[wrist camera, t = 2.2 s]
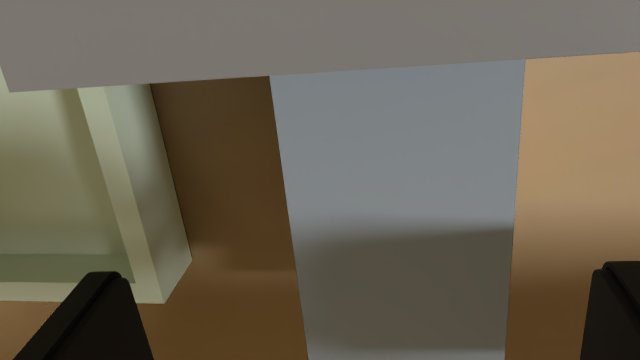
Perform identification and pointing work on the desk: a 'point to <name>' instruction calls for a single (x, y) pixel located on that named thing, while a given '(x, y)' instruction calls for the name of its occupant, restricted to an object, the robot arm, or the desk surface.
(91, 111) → the tray
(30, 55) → the grey rectangular box
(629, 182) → the desk surface
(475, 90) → the pale grey block
